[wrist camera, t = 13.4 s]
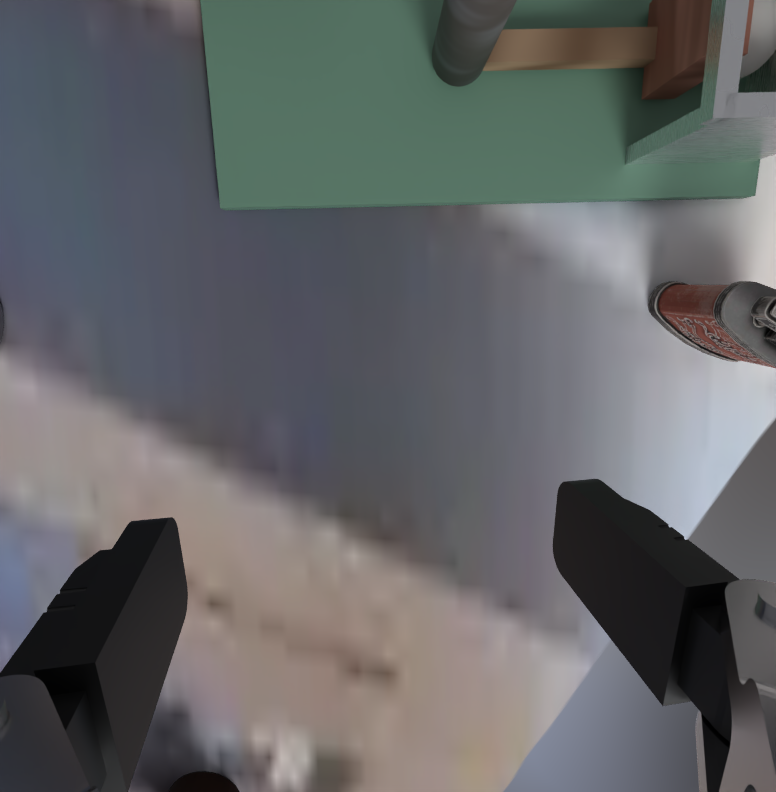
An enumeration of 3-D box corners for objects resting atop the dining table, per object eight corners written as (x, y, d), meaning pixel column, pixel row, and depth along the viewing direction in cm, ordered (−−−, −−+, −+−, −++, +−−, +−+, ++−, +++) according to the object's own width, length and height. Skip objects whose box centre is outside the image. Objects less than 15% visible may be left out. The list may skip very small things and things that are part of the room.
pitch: (225, 210, 32) (220, 208, 31) (197, -85, 28) (190, -98, 27) (743, 198, 32) (755, 195, 31) (782, -94, 29) (796, -108, 28)
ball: (792, 71, 27) (716, 95, 31) (804, -13, 26) (724, 22, 30) (754, 57, 25) (677, 85, 29) (766, -33, 24) (685, 6, 28)
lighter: (758, 328, 34) (910, 347, 25) (728, 370, 35) (864, 404, 25) (667, 270, 33) (786, 265, 23) (637, 314, 34) (742, 326, 24)
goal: (617, 164, 31) (712, 117, 22) (634, -63, 28) (751, -220, 19) (751, 162, 31) (900, 114, 22) (781, -65, 28) (964, -223, 19)
